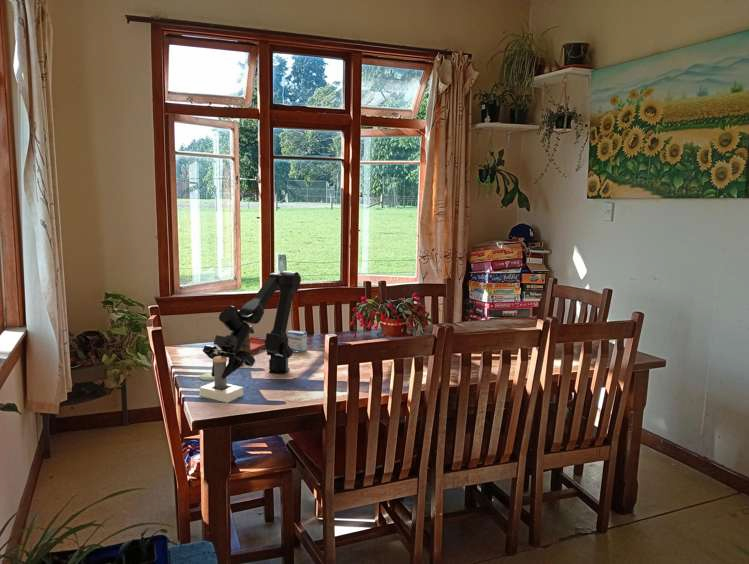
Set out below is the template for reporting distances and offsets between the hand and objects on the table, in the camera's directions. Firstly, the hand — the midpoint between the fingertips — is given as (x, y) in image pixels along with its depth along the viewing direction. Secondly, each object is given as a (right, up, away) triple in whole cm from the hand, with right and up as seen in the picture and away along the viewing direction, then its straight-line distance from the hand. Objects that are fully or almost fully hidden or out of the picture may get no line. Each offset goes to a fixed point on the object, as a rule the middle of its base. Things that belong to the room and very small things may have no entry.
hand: (217, 377), depth 199 cm
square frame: (+1, -7, +2) cm, 7 cm away
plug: (0, -6, +2) cm, 7 cm away
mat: (-8, -3, +21) cm, 23 cm away
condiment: (-1, 0, +45) cm, 45 cm away
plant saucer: (-5, +2, +62) cm, 63 cm away
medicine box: (+18, +2, +61) cm, 64 cm away
